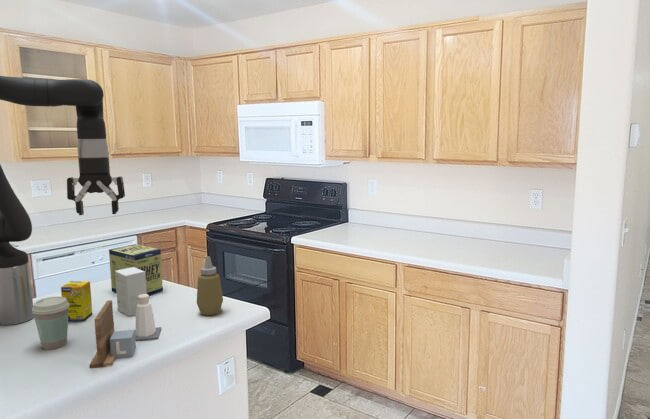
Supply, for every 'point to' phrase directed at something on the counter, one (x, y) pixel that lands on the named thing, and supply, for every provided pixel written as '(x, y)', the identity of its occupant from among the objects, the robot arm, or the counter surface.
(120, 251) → the protein box
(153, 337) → the pad
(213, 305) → the squeeze bottle
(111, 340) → the gray cube
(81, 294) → the supplement box
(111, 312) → the screen
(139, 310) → the pepper shaker
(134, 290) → the small box
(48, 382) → the counter surface
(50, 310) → the coffee cup
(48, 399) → the counter surface
